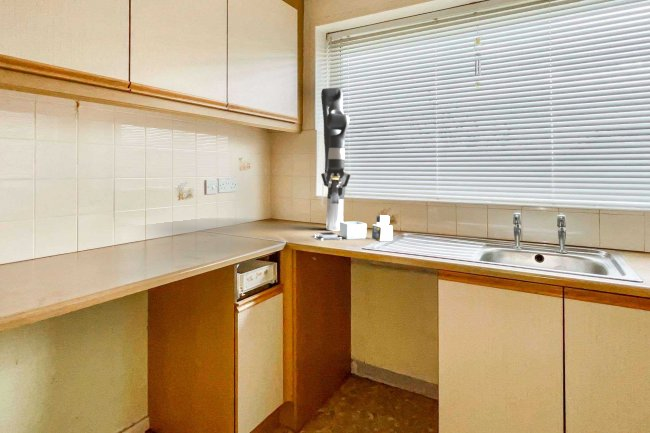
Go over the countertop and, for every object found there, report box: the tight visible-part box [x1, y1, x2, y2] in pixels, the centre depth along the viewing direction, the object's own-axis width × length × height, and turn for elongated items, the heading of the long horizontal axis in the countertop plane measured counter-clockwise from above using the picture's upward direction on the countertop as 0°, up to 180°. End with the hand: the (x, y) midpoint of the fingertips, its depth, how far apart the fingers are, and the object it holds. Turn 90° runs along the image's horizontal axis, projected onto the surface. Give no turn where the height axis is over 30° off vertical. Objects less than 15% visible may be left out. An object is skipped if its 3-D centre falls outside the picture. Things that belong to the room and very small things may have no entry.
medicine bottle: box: [371, 214, 394, 242], centre depth 184 cm, size 7×7×12 cm
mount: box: [311, 231, 345, 242], centre depth 178 cm, size 12×12×3 cm
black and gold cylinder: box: [331, 176, 340, 204], centre depth 177 cm, size 5×5×13 cm
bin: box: [338, 221, 368, 240], centre depth 182 cm, size 9×10×8 cm
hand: (335, 195), depth 177 cm, fingers closed on black and gold cylinder, 4 cm apart
